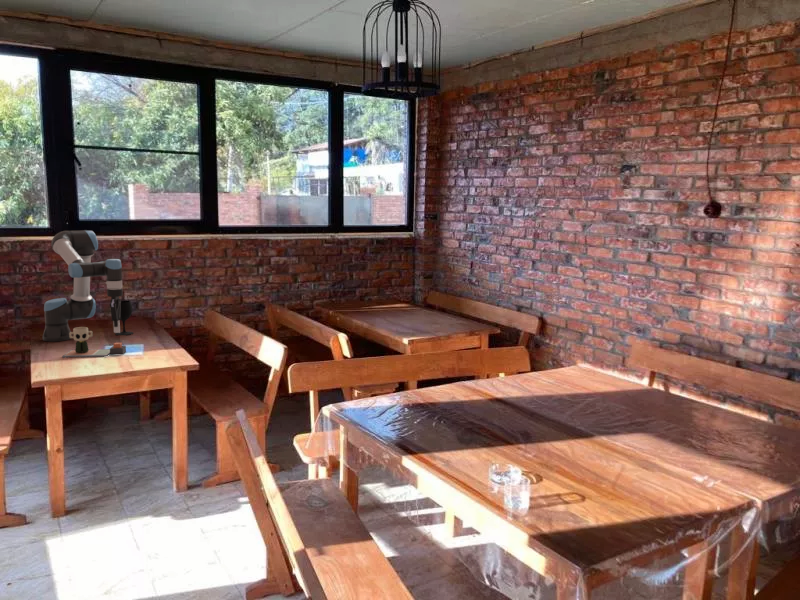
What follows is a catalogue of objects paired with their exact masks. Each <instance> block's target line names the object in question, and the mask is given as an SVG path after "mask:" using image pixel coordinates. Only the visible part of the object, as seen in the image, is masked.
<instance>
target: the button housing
mask: <svg viewBox="0 0 800 600" xmlns="http://www.w3.org/2000/svg"><path fill="white" fill-rule="evenodd" d="M109 349H110V354H123V355H125V354H126V353H127V346H126V345H122V348H114V345H113V346H111V347H110V348H109Z"/></svg>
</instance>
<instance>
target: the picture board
mask: <svg viewBox="0 0 800 600" xmlns="http://www.w3.org/2000/svg"><path fill="white" fill-rule="evenodd" d="M88 349H89V348H88ZM109 354H110V348H99V349H98V348H97V349H96V348H94V349H93V348H91V349H89V350H88V351H87V352H83V351H81V353H77V352H76V351H75V349H70V350H69V351H68V352H66V353H64V354H63V355H62V356H61V358H62V357H63V358H62V359H69V358H68V357H81V358H105V357H104V356H108V355H109ZM109 356H110V355H109ZM109 356H108V357H109ZM65 357H66V358H65Z"/></svg>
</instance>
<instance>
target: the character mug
mask: <svg viewBox="0 0 800 600" xmlns="http://www.w3.org/2000/svg"><path fill="white" fill-rule="evenodd" d="M71 334H72V335H71ZM69 336H70V338H71V339H73V340H74V341H76V343H75V349H74V350H75V351H76V352H77V353H81V351H83V352H87V351H88V350H89V346H88V345H89V344H88V341H87V340H89V338H92V337H93V331H92V330H89V328H88V327H86V326H79V327H74V328H73V329H72V331H71V332H70V333H69Z"/></svg>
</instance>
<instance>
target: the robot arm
mask: <svg viewBox="0 0 800 600" xmlns="http://www.w3.org/2000/svg"><path fill="white" fill-rule="evenodd" d="M51 248H52V250H53V251H54V253H56V254H58V255H59V256H60V257H61V258H62V259H63V261H64V262H65V263H66V264H67V265H68V266H67V268H68V269H67V271H68V274H69V275H68V276H70V278H73V293H72V294H71V295H70V297H69V298H70V299H69V300H68V299H67V298H65V297H61V298H53V299H49V300H47V301H45V302H44V304H43V305H44V306H43V311H44V324H45V325H44V330H43V334H42V341H44V342H62V341H68V340H71V339H72V338H70V336H69V333H70V332H72V331H71V329H70V326H69V321H73V320H84V319H85V320H86V319H90V318H92V317H94V315H95V313H96V308H97V305H96V304H97V303H96V300H95V298H93V296H92V295H91V293H90V292H91V289H90V288H91V277H104V276H105V277H106V280H105V281H106V282H105V285H106V288H107V290H106V292H107V293H106V296H107V297H110V298H111V299H110V302H109V308H110V315H111V322H112V323H113V333H115V334H116V333H120V332H121V325H120V321H121V319H120V316H121V301H122V300H121V299H120V297H122V296H123V295H124V293H123V291H124V289H123V287H124V286H123V274H122V273H123V271H122V269H123V268H122V267H123V266H122V260H121V259H119V258H108V259H106V260H102V261H95V262H94V261H93V262H92V260H91V259H92V257H93V256H94V255H95V251H97V250H98V249H99V241H98V237H97V235H96V233H95V232H94V231H93V230H87V229H84V230H83V229H82V230H63V231H59V232H58V233H56V234H55V235H54V236H53V237H52V239H51ZM71 335H72V336H73V334H71Z"/></svg>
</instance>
